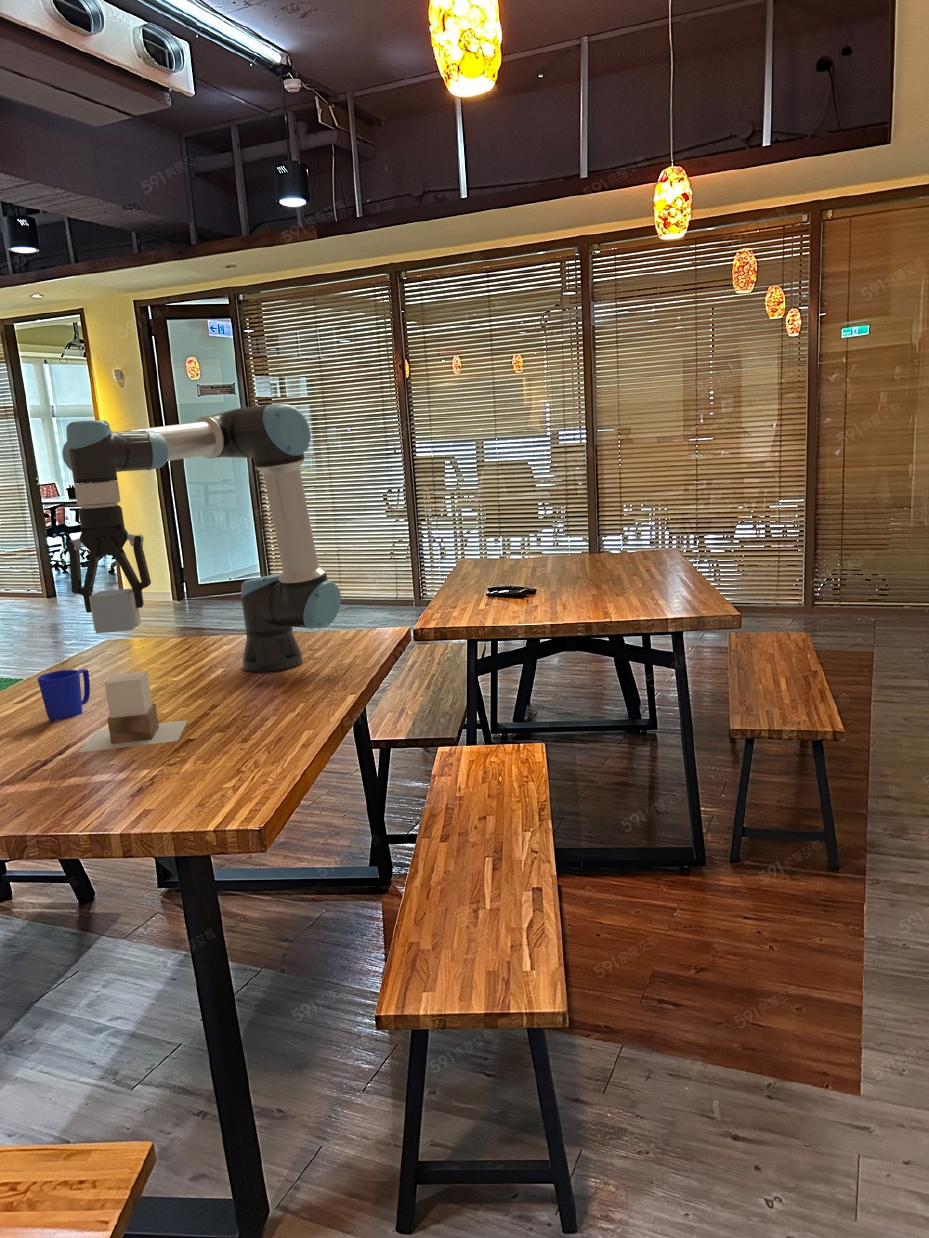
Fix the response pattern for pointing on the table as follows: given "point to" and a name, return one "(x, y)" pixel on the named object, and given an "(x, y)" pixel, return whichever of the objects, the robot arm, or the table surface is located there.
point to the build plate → (163, 735)
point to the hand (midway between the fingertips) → (118, 626)
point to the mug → (64, 693)
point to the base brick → (134, 727)
